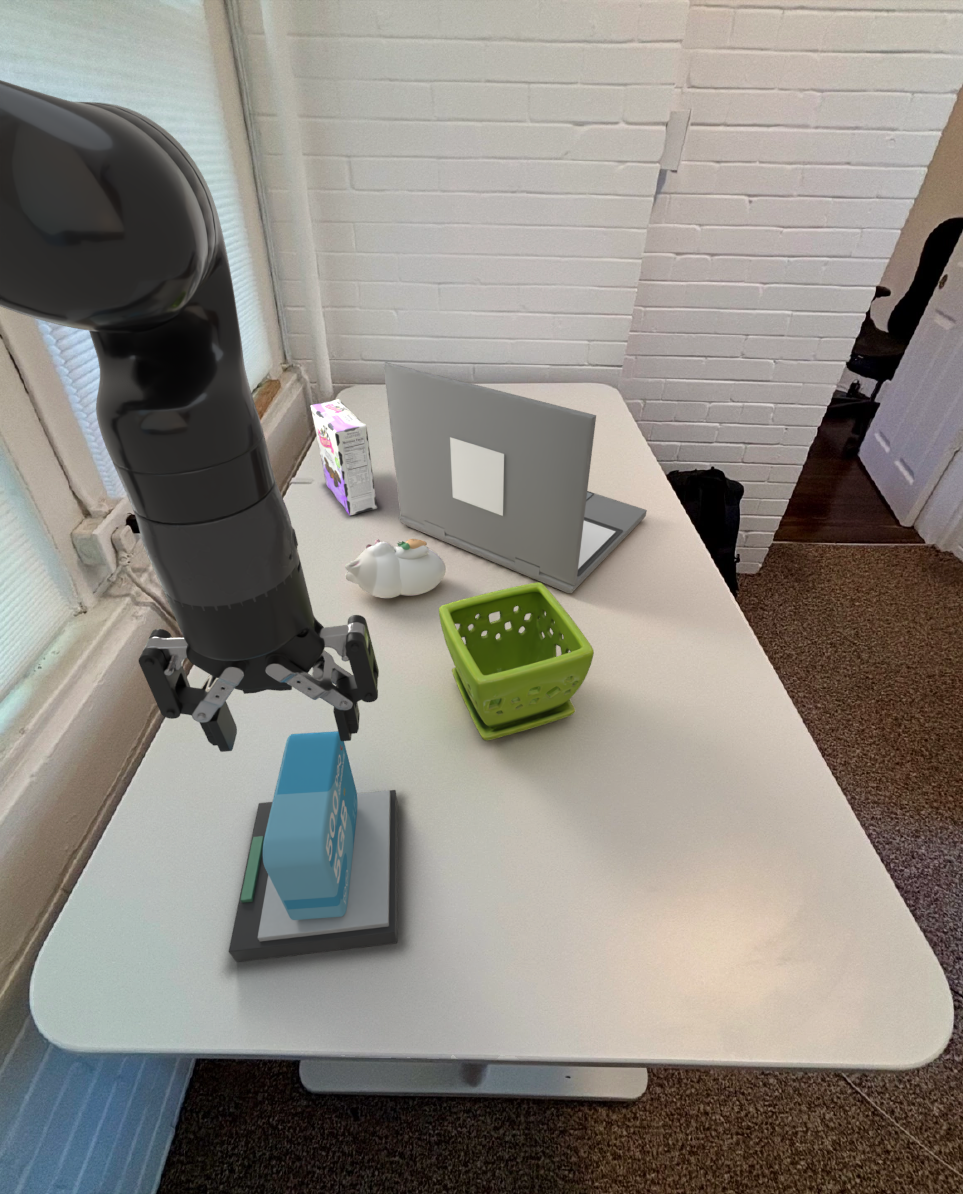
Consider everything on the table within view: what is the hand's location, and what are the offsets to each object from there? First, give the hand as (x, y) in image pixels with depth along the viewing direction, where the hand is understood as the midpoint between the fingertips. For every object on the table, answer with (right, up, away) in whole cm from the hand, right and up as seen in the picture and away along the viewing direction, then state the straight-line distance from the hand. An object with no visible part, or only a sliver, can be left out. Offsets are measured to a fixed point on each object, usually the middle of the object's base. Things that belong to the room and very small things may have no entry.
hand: (289, 736), depth 44 cm
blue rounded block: (0, -14, +12) cm, 18 cm away
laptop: (+21, +23, +61) cm, 69 cm away
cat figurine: (+1, +11, +47) cm, 49 cm away
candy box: (-11, +30, +70) cm, 77 cm away
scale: (-1, -17, +13) cm, 21 cm away
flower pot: (+18, -3, +30) cm, 35 cm away
